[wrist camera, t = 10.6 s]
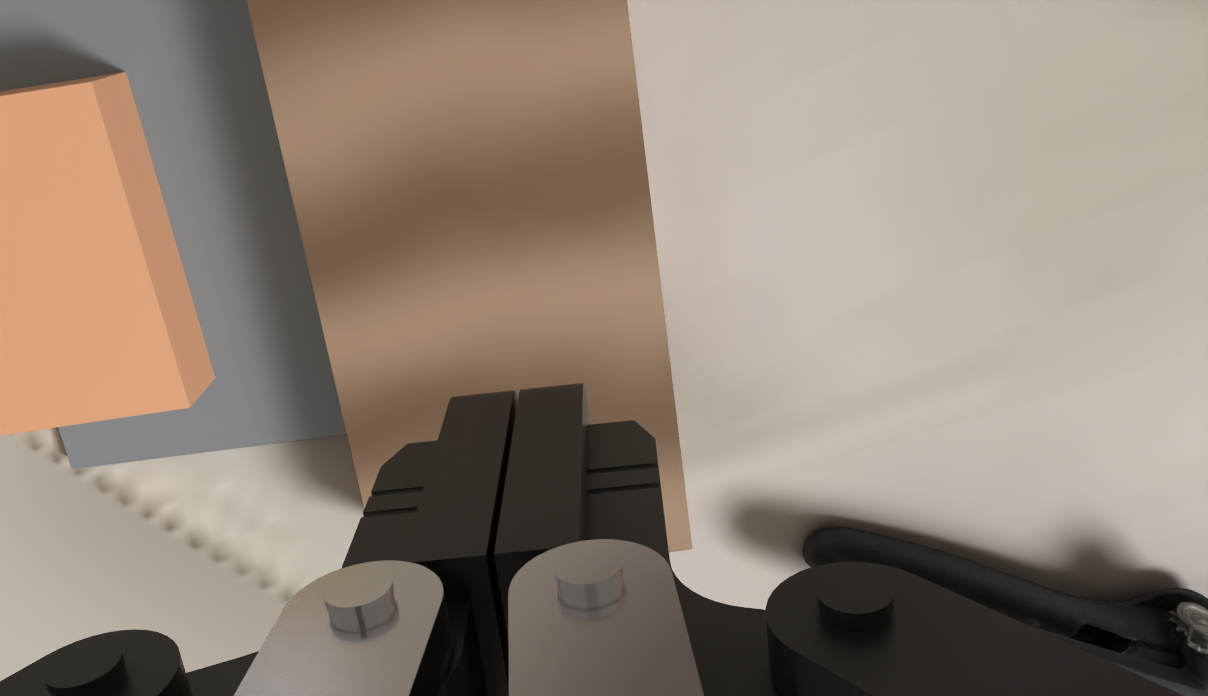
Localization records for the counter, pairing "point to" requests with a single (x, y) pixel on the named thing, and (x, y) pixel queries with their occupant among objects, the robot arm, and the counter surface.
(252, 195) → the slate mat
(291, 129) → the panel
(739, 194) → the counter surface
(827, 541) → the can opener
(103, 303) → the terracotta tile
